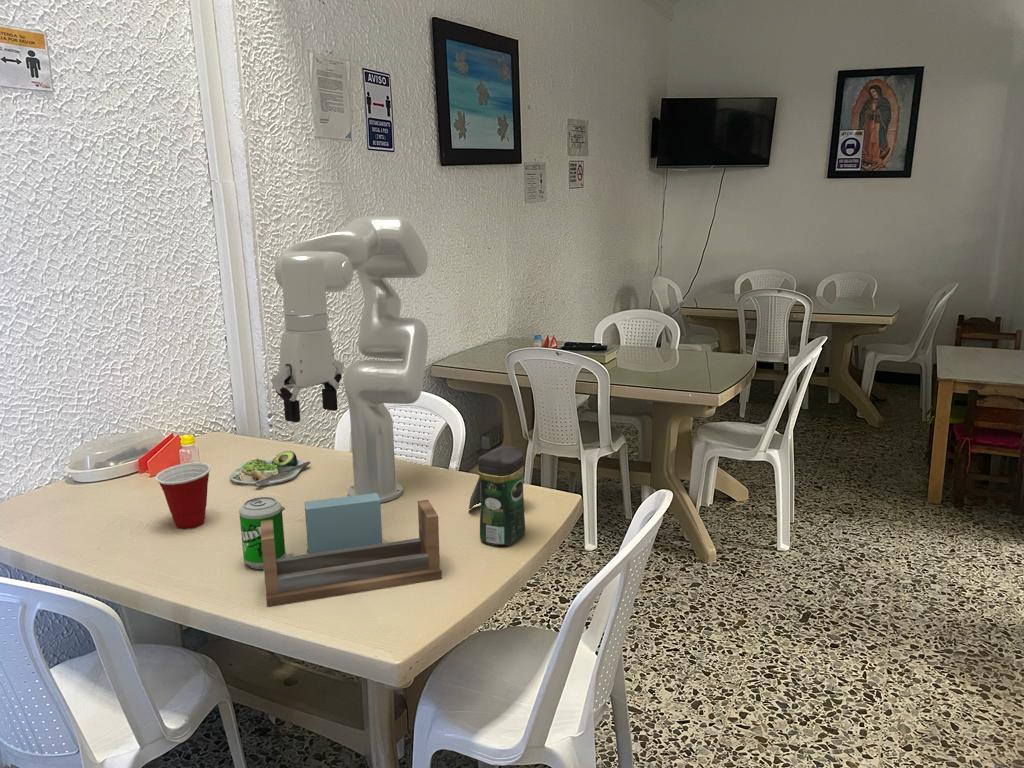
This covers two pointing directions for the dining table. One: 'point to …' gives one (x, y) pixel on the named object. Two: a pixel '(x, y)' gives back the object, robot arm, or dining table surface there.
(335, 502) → the door panel
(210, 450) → the dining table surface
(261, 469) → the salad plate
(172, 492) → the plastic cup
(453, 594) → the dining table surface
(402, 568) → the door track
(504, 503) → the coffee jar
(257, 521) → the soda can
